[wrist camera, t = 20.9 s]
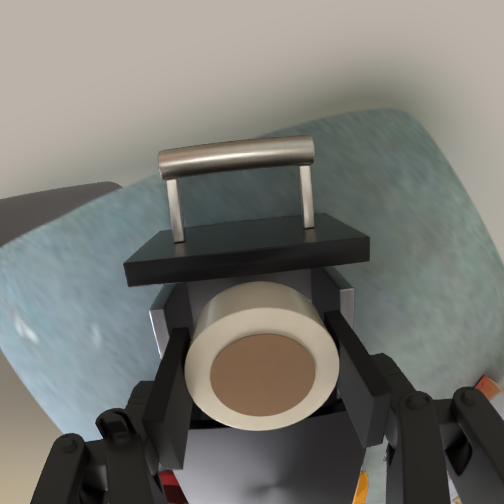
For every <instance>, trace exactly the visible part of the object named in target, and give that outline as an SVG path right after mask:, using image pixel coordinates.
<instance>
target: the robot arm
mask: <svg viewBox="0 0 504 504" xmlns="http://www.w3.org/2000/svg"><path fill="white" fill-rule="evenodd" d="M324 324H325V326H326V328H327V329H328V331H329V333H330V335H331V337H332V339H333V341H334V342H335V345H336V347H337V350H338V354H339V375H338V379H337V382H336V386H337V388H338V391H339V393H340V395H341V398H342V400H343V402H344V404H345V407H346V409H347V411H348V414H349V416H350V418H351V421H352V423H353V425H354V428H355V430H356V432H357V435H358V437H359V439H360V442H361V444H362V446H363V448H367V447H371V446H375V445H379V444H382V442H383V438H384V434H385V436H386V438H387V440H388V446H387V450H386V453H385V456H384V460H383V461H386V460H387V482H386V504H451V500H450V491H449V483H448V475H447V472H448V474H449V476H450V478H451V480H452V483H453V485H454V487H455V489H456V491H457V494H458V496H459V498H460V501H461V503H462V504H504V420H503V419H502V417H501V416H500V415H499V413H498V412H497V411H496V409H495V408H494V407H493V405H492V404H491V403H490V401H489V400H488V399H487V398H486V396H485V395H484V394H483V393H482V392H481V391H480V390H479V389H477V388H474V387H462V388H460V389H458V390H456V392H455V393H454V395H453V398H452V399H442V400H433V399H432V398H431V396H429V395H428V394H427V393H424V392H421V391H416V390H415V389H414V387H413V386H412V385H411V383H410V382H409V380H408V379H407V378H406V376H405V375H404V374H403V372H401V370H400V368H399V367H397V364H396V363H395V362H394V361H393V359H392V358H391V357H389V356H387V355H385V354H384V353H380V354H375V355H371V356H370V355H369V353H368V352H367V350H366V349H365V347H364V346H363V344H362V343H361V341H360V340H359V338H358V337H357V335H356V334H355V332H354V331H353V330H352V328H351V327H350V325H349V324H348V322H347V321H346V319H345V318H344V317H343V315H342V314H341V312H340V311H339V310H334V311H328V312H324ZM190 340H191V339H190V334H189V329H188V327H181V328H173V330H172V332H171V335H170V338H169V340H168V343H167V346H166V349H165V352H164V354H163V357H162V360H161V363H160V366H159V369H158V371H157V374H156V377H155V380H154V381H140V382H139V383H138V384H137V385H136V386H135V387H134V388H133V391H132V393H131V396H130V398H129V400H128V404H127V405H126V408H125V409H122V408H113V409H109V410H106V411H105V412H103V413H101V414H100V415H99V416H98V418H97V419H96V423H95V424H96V426H97V428H98V429H99V431H100V433H101V435H102V437H103V439H101V440H95V441H89V442H85V441H84V440H83V438H82V437H81V436H80V435H78V434H74V433H69V434H65V435H62V436H60V437H59V438H58V439H56V441H55V442H54V444H53V446H52V448H51V451H50V453H49V456H48V458H47V460H46V463H45V465H44V468H43V470H42V473H41V475H40V478H39V481H38V484H37V487H36V489H35V491H34V494H33V497H32V500H31V503H30V504H168V502H167V499H166V495H165V491H164V488H163V484H162V480H161V476H160V475H159V473H158V471H157V469H158V465H159V462H160V464H161V466H162V468H163V469H170V470H183V466H184V458H185V451H186V444H187V438H188V431H189V424H190V418H191V411H192V405H193V399H192V397H191V395H190V393H189V391H188V389H187V385H186V381H185V376H184V366H185V360H186V356H187V352H188V348H189V344H190Z"/></svg>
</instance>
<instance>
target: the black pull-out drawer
mask: <svg viewBox="0 0 504 504" xmlns="http://www.w3.org/2000/svg"><path fill="white" fill-rule="evenodd" d="M314 160H315V147H314V142H313V139H312V137H311V136H310V135H306V136H287V137H273V138H260V139H248V140H238V141H229V142H220V143H211V144H203V145H196V146H188V147H182V148H175V149H169V150H163V151H160V152H159V154H158V167H159V173H160V176H161V178H162V179H163V180H166V186H167V194H168V202H169V210H170V217H171V224H172V230H164V231H159V232H158V233H157V234H156V235H155V236H154V237H153V238H151V239H150V240H149V241H148V242H147V243H146V244H145V245H143V246H142V247H141V248H140V249H139V250H138V251H137V252H135V253H134V254H133V255H132V256H131V257H130V258H129V259H128V260H127V261H125V262H124V263H123V265H124V270H125V274H126V279H127V284H128V287H139V286H150V285H161V284H164V285H163V287H162V289H161V290H160V292H159V294H158V296H157V297H156V299H155V301H154V303H153V304H152V306H151V308H150V310H149V313H150V317H151V322H152V326H153V330H154V334H155V338H156V342H157V345H158V349H159V353H160V357H161V360H162V357H163V354H164V352H165V349H166V346H167V343H168V340H169V338H170V335H171V332H172V330H173V328H181V327H188V329H189V334H190V339H191V336H192V332H193V328H194V325H195V322H196V319H197V318H198V316H199V314H200V312H201V311H202V309H203V308H204V307H205V305H206V304H207V303H208V302H209V301H210V300H211V299H212V298H214V297H215V296H216V295H218V294H219V293H221V292H222V291H224V290H226V289H228V288H231V287H233V286H236V285H239V284H242V283H248V282H257V281H265V282H274V283H279V284H282V285H285V286H288V287H290V288H292V289H294V290H296V291H298V292H299V293H301V294H302V295H304V296H305V297H306V298H307V299H308V300H309V301H310V302H311V303H312V304H313V305H314V307H315V308H316V310H317V311H318V313H319V315H320V317H321V319H322V320H323V322H324V312H328V311H334V310H339V311H340V312H341V314H342V315H343V317H344V318H345V319H346V321H347V322H348V324H349V325H350V327H351V328H352V330H353V322H354V287H353V286H352V285H351V284H350V283H349V282H348V281H347V280H346V279H345V278H344V277H343V276H342V275H341V274H340V273H339V272H338V271H337V270H336V268H335V267H334V266H335V265H343V264H351V263H359V262H367V261H370V237H369V236H367V235H365V234H363V233H361V232H360V231H358V230H356V229H354V228H352V227H350V226H348V225H346V224H344V223H343V222H341V221H339V220H337V219H335V218H333V217H331V216H329V215H327V214H325V213H323V214H314V209H313V195H312V181H311V169H310V165H312V164H313V163H314ZM285 166H298V178H299V190H300V203H301V216H290V217H280V218H270V219H260V220H250V221H241V222H232V223H223V224H214V225H205V226H197V227H188V228H185V227H184V220H183V212H182V205H181V197H180V189H179V180H178V178H183V177H190V176H198V175H205V174H214V173H222V172H231V171H241V170H251V169H261V168H273V167H285ZM338 403H343V400H342V398H341V395H340V393H339V391H338V388H337V386H336V385H335V387H334V389H333V391H332V393H331V394H330V396H329V397H328V399H327V400H326V401H325V402H324V403H323V404H322V405H321V406H320V407H322V406H328V405H333V404H338ZM211 419H213V418H212V417H210V416H209V415H207V414H206V413H205V412H203V411H202V410H201V409H200V408H199V407H198V406H197V404H196V403H195V402H194V400H193V405H192V411H191V418H190V420H211Z"/></svg>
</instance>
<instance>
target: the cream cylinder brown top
mask: <svg viewBox="0 0 504 504" xmlns="http://www.w3.org/2000/svg"><path fill="white" fill-rule="evenodd" d="M338 375H339V354H338V350H337V347H336V345H335V342H334V341H333V339H332V337H331V335H330V333H329V331H328V329H327V328H326V326H325V324H324V322H323V320H322V319H321V317H320V315H319V313H318V311H317V310H316V308H315V307H314V305H313V304H312V303H311V302H310V301H309V300H308V299H307V298H306V297H305V296H304V295H302V294H301V293H299V292H298V291H296V290H294V289H292V288H290V287H288V286H285V285H282V284H279V283H274V282H265V281H257V282H248V283H242V284H239V285H236V286H233V287H231V288H228V289H226V290H224V291H222V292H221V293H219V294H218V295H216V296H215V297H214V298H212V299H211V300H210V301H209V302H208V303H207V304H206V305H205V307H204V308H203V309H202V311H201V312H200V314H199V316H198V318H197V319H196V322H195V325H194V328H193V332H192V336H191V340H190V344H189V348H188V352H187V356H186V360H185V366H184V376H185V381H186V385H187V389H188V391H189V393H190V395H191V397H192V399H193V400H194V402H195V403H196V404H197V406H198V407H199V408H200V409H201V410H202V411H203V412H205V413H206V414H207V415H209V416H210V417H212V418H213V419H215V420H216V421H218V422H221V423H223V424H225V425H228V426H231V427H234V428H239V429H244V430H255V431H262V430H272V429H278V428H282V427H286V426H289V425H291V424H294V423H296V422H298V421H301V420H303V419H304V418H306V417H308V416H309V415H311V414H312V413H313V412H315V411H316V410H317V409H318V408H319V407H320V406H321V405H322V404H323V403H324V402H325V401H326V400H327V399H328V397H329V396H330V394H331V393H332V391H333V389H334V387H335V385H336V382H337V379H338Z"/></svg>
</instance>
